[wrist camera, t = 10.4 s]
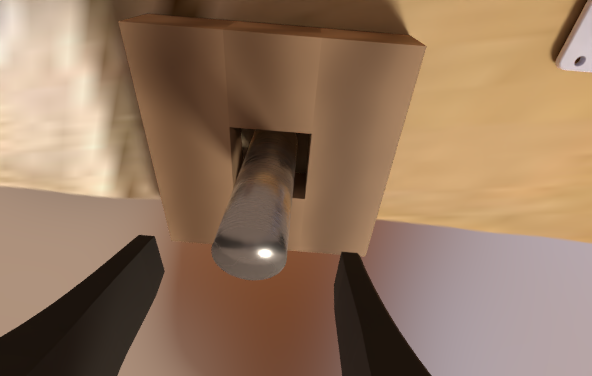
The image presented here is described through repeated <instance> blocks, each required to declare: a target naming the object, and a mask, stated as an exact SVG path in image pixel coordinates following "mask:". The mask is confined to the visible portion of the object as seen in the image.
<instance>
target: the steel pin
mask: <svg viewBox="0 0 592 376" xmlns="http://www.w3.org/2000/svg"><path fill="white" fill-rule="evenodd" d="M297 144H298V141H297V136H296V134H295V132H284V131H271V130H259V129H256V130H255V132H254V134H253V137H252V140H251V142H250V145H249V148H248V150H247V153H246V156H245V159H244V161H243V164H242V167H241V169H240V172H239V175H238V177H237V180H236V183H235V186H234V188H233V191H232V194H231V196H230V199H229V202H228V204H227V207H226V210H225V213H224V215H223V218H222V221H221V223H220V226H219V229H218V231H217V234H216V237H215V239H214V242H213V245H212V257H213V259H214V261H215V262H216V264H217V265H218V266H219V267H220V268H221V269H222V270H224V271H225V272H227V273H228V274H230V275H232V276H235V277H238V278H241V279H246V280H262V279H267V278H270V277H272V276H274V275H276V274H278V273H279V272H280V271H281V270H282V269H283V268H284V266H285V264H286V260H287V249H288V239H289V228H290V218H291V207H292V197H293V186H294V176H295V165H296V155H297Z"/></svg>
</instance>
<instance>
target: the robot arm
mask: <svg viewBox="0 0 592 376" xmlns="http://www.w3.org/2000/svg"><path fill="white" fill-rule="evenodd" d="M578 57H581V58H580V60H579V61H578V63H576V64H574V63H575V60H576V59H577V58H578ZM556 66H557V67H558V68H560V69H563V70H570V71H582V72H592V0H588V1H587V3H586V4H585V6H584V8H583V10H582V12H581V14H580V16H579V18H578V20H577V21H576V23H575V25H574V27H573V29H572V31H571V33H570V35H569V36H568V38H567V40H566V42H565V44H564V46H563V48H562V50H561V51H560V53H559V55H558V57H557V59H556ZM163 274H164V267H163V264H162V260H161V257H160V253H159V250H158V246H157V243H156V239H155V237H154V236H145V235H138V236H137V237H136V238H135V239H133V240H132V241H131V242H130V243H129V244H127V245H126V246H125V247H124V248H123V249H121V250H120V251H119V252H118V253H117V254H115V255H114V256H113V257H112V258H111V259H110V260H108V261H107V262H106V263H105V264H103V265H102V266H101V267H100V268H98V269H97V270H96V271H95V272H94V273H93V274H91V275H90V276H89V277H87V278H86V279H85V280H84V281H82V282H81V283H80V284H78V285H77V286H76V287H74V288H73V289H72V290H70V291H69V292H68V293H67V294H65V295H64V296H62V297H61V298H60V299H58V300H57V301H56V302H54V303H53V304H51V305H50V306H49V307H47V308H46V309H44V310H43V311H41V312H40V313H38V314H37V315H35V316H34V317H32V318H31V319H29V320H28V321H26V322H25V323H23V324H21V325H20V326H18V327H17V328H15V329H14V330H12V331H10V332H8V333H7V334H5V335H3V336H2V337H0V376H117V375H118V372H119V370H120V367H121V365H122V363H123V361H124V359H125V356H126V354H127V352H128V350H129V348H130V346H131V344H132V342H133V340H134V338H135V336H136V334H137V332H138V330H139V329H140V326H141V325H142V323H143V321H144V319H145V317H146V315H147V313H148V311H149V309H150V307H151V305H152V303H153V301H154V299H155V296H156V294H157V291H158V289H159V286H160V283H161V280H162V277H163ZM334 310H335V320H336V327H337V336H338V344H339V352H340V360H341V368H342V376H431V374H430V373H429V372H428V371H427V369H426V368H425V366H424V365H423V364H422V362H421V361H420V360H419V359H418V357H417V356H416V354H415V353H414V351H413V350H412V349H411V347H410V346H409V345H408V343H407V341H406V340H405V338H404V337H403V335H402V334H401V332H400V331H399V329H398V328H397V326H396V324H395V323H394V321H393V320H392V318H391V316H390V315H389V313H388V311H387V310H386V308H385V306H384V304H383V302H382V301H381V299H380V297H379V295H378V293H377V292H376V290H375V288H374V286H373V284H372V282H371V280H370V278H369V276H368V274H367V271H366V269H365V267H364V265H363V262H362V260H361V257H360V255H359V254H358V253H353V252H341V256H340V261H339V265H338V270H337V274H336V279H335V283H334Z"/></svg>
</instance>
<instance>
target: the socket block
mask: <svg viewBox="0 0 592 376" xmlns="http://www.w3.org/2000/svg"><path fill="white" fill-rule="evenodd" d="M118 23H119V27H120V31H121V35H122V39H123V43H124V47H125V51H126V56H127V60H128V64H129V68H130V72H131V76H132V80H133V85H134V89H135V93H136V97H137V101H138V105H139V109H140V113H141V118H142V122H143V126H144V130H145V134H146V138H147V142H148V146H149V151H150V155H151V159H152V163H153V167H154V171H155V175H156V179H157V184H158V188H159V192H160V196H161V200H162V204H163V208H164V212H165V216H166V220H167V225H168V229H169V233H170V237H171V241H180V242H192V243H205V244H213V242H214V239H215V237H216V234H217V231H218V229H219V226H220V223H221V221H222V218H223V215H224V213H225V210H226V207H227V204H228V202H229V199H230V196H231V194H232V191H233V188H234V186H235V183H236V180H237V177H238V175H239V172H240V169H241V167H242V140H241V128H247V129H259V130H271V131H284V132H296V133H308V134H310V138H309V148H308V158H307V168H306V173H295V176H294V186H293V197H292V207H291V218H290V228H289V239H288V249H287V250H291V251H303V252H315V253H327V254H340V255H341V252H353V253H358V254H359V255H360V256H366V252H367V249H368V245H369V242H370V238H371V235H372V232H373V228H374V225H375V221H376V218H377V214H378V211H379V208H380V204H381V201H382V197H383V194H384V190H385V187H386V184H387V180H388V177H389V173H390V170H391V166H392V163H393V160H394V156H395V153H396V149H397V146H398V142H399V139H400V136H401V132H402V129H403V125H404V122H405V118H406V115H407V112H408V108H409V105H410V101H411V98H412V94H413V91H414V87H415V84H416V81H417V77H418V74H419V70H420V67H421V63H422V60H423V57H424V53H425V50H426V46H425V45H424V44H422V43H421V42H419V41H418V40H416V39H415V38H413V37H412V36H410V35H403V34H391V33H379V32H367V31H354V30H342V29H330V28H317V27H305V26H293V25H280V24H268V23H256V22H244V21H231V20H219V19H207V18H194V17H182V16H170V15H157V14H144V15H141V16H137V17H133V18H129V19H125V20H121V21H118Z"/></svg>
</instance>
